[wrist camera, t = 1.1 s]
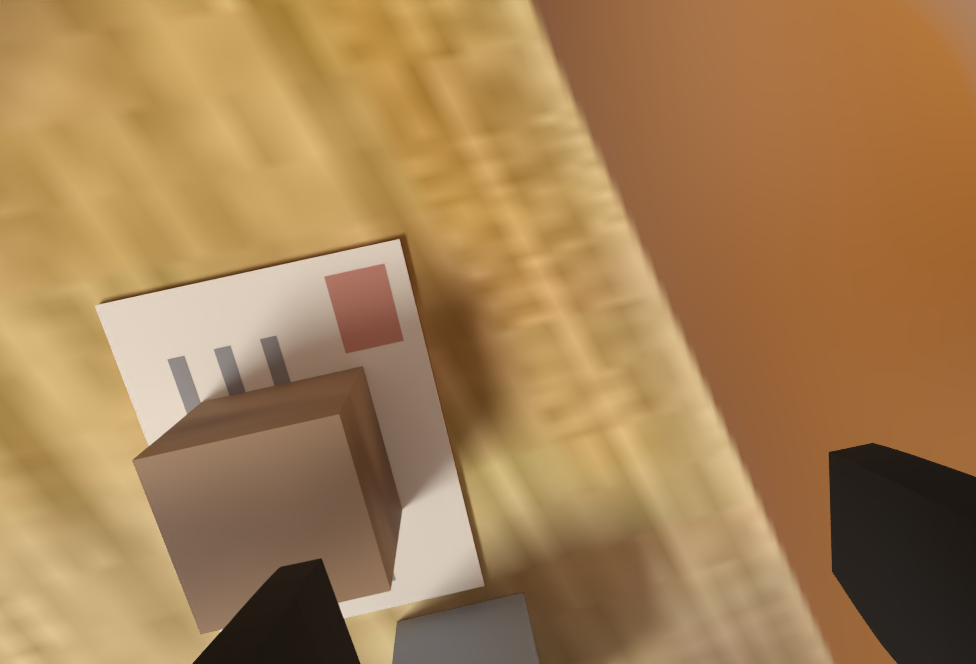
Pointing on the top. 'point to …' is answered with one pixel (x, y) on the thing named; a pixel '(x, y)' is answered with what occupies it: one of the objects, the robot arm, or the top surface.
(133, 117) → the top surface
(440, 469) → the letter
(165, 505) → the walnut block
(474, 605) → the slate cube
